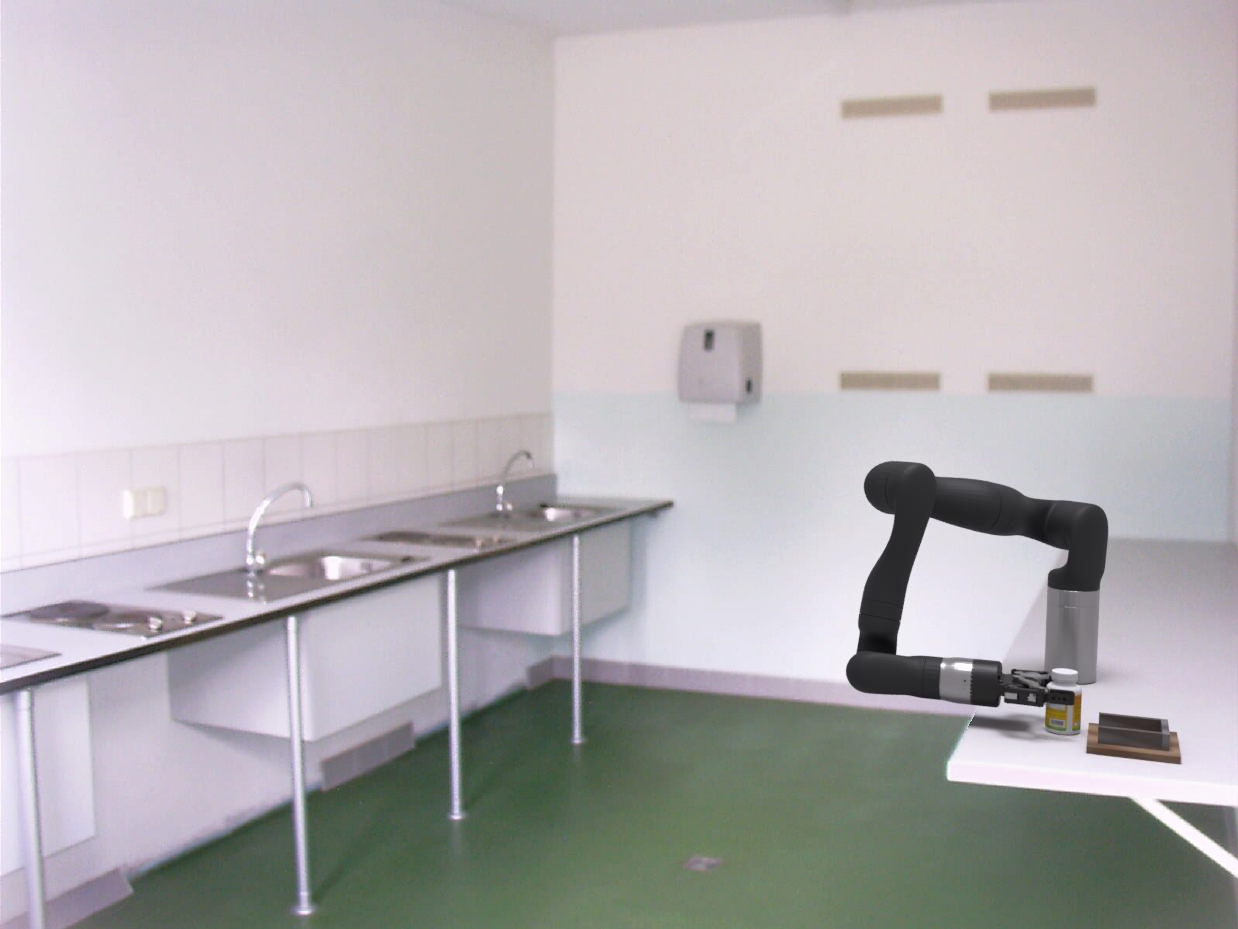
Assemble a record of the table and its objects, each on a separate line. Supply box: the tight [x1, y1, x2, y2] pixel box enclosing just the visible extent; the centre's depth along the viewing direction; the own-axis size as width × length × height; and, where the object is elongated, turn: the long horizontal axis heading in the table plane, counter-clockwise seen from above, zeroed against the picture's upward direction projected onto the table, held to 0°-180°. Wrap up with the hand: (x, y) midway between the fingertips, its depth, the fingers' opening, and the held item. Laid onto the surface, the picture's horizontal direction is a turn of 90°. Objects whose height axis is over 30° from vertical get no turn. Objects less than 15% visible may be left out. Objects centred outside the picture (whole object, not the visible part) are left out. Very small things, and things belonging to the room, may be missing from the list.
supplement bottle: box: [1044, 668, 1083, 736], centre depth 202 cm, size 5×5×10 cm
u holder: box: [1086, 711, 1182, 765], centre depth 194 cm, size 14×13×4 cm
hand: (1075, 692), depth 201 cm, fingers open, 8 cm apart
